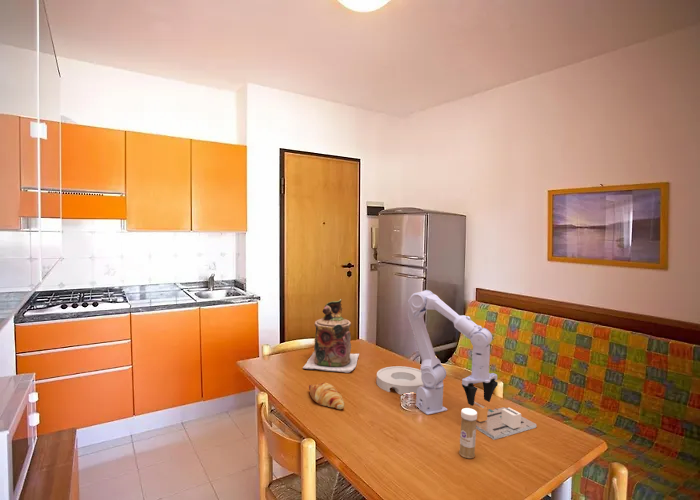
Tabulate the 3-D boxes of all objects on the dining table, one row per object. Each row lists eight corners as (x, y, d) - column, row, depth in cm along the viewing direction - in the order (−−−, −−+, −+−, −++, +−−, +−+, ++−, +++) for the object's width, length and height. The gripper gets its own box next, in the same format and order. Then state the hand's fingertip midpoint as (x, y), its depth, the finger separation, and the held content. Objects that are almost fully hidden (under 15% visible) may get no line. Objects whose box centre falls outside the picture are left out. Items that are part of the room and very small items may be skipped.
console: (495, 440, 125) (495, 436, 125) (461, 419, 139) (461, 415, 139) (537, 428, 134) (538, 424, 134) (502, 409, 148) (502, 406, 148)
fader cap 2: (513, 428, 130) (513, 414, 130) (501, 422, 135) (501, 408, 134) (520, 426, 132) (521, 412, 132) (508, 420, 136) (509, 406, 136)
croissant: (348, 418, 145) (357, 397, 147) (330, 412, 139) (339, 390, 141) (314, 397, 161) (322, 378, 163) (296, 392, 154) (305, 372, 156)
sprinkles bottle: (456, 455, 117) (458, 410, 116) (463, 448, 120) (465, 405, 119) (471, 461, 114) (473, 415, 113) (477, 454, 117) (479, 410, 116)
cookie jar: (313, 354, 207) (315, 294, 205) (359, 357, 204) (361, 296, 202) (301, 370, 183) (303, 302, 181) (353, 374, 179) (355, 305, 178)
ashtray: (389, 398, 155) (389, 388, 155) (368, 377, 177) (368, 368, 177) (440, 392, 163) (440, 383, 162) (414, 372, 185) (414, 364, 184)
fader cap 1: (479, 422, 134) (480, 408, 134) (469, 415, 139) (469, 402, 138) (487, 420, 136) (487, 406, 136) (476, 413, 140) (477, 400, 140)
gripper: (473, 370, 129) (471, 411, 130) (504, 365, 136) (503, 403, 137) (458, 364, 136) (456, 402, 136) (489, 359, 142) (487, 395, 143)
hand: (478, 402), depth 137 cm, fingers open, 7 cm apart
